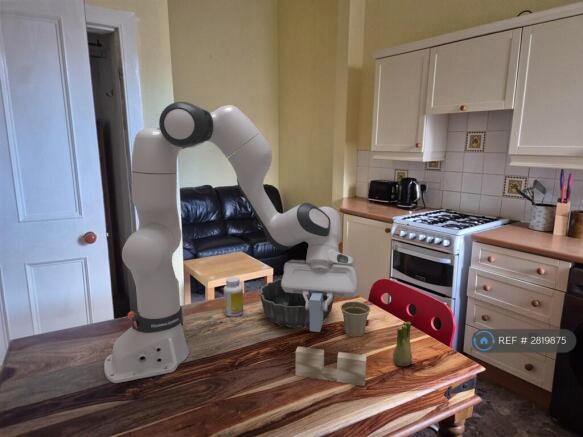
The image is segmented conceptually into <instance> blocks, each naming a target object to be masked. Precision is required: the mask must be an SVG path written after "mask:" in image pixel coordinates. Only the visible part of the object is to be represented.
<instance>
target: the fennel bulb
mask: <svg viewBox="0 0 583 437" xmlns="http://www.w3.org/2000/svg"><path fill="white" fill-rule="evenodd" d="M411 327H412V322H410V321H405V322H404V321H403V323H402V326H401V327H400V326H399V327H397V328H396V331H397V333H396V334H397V335H396V336H397V337H396V346H395V348H394V350H393V352H392V353H393V354H392V359H393V362H394V363H395V365H396V366H399V367H401V366H402V367H408V366H409V365H411V364H412V362H413V360H412V358H413V356H412V355H413V354H412V349H411V347H412V346H411V340H410V339H411V338H410V337H411V335H410V334H411Z"/></svg>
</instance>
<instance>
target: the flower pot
mask: <svg viewBox="0 0 583 437" xmlns="http://www.w3.org/2000/svg"><path fill="white" fill-rule="evenodd" d="M340 310H341V313H342V318H343V325H344V332H345V333H346V334H345V335H348V336H350V337H361V336H363V335H364V334H365V331H366V330H365V329H366V326H367V321H368V316H369V314H370V312H371V306H370V305H369V304H366V303H365V302H360V301H352V300H351V301H345V302H343V303H342V304H341V305H340Z"/></svg>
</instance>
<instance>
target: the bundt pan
mask: <svg viewBox="0 0 583 437" xmlns="http://www.w3.org/2000/svg"><path fill="white" fill-rule="evenodd" d="M281 282H282V278H278V279H276V280H273V281H271V282H267V283H266V285H263V286H262V287H261V288H260V290H259V294H258V296H259V297H260V300H261V304H262V309H263V312H264V314H265V315H266V316H267V317H268V319H269V320H270V321H271V322H272V323H276V324H277V325H278V326H280V327H285V326H286V327H288V328H289V329H290V328H292V329H296V328H298V327H300V328H302V329H305V328H306V327H307V326H309V327H310V311H309V310H306V308H305V306H306V301H305V298H304V296H303V294H302V293H289V292H285V291H284V290H283V289H282V287H281ZM311 295H312V294H310V295H309V298H307V299H308V301H309V299H310V297H311ZM334 298H335V296H333V300H332V301H331V303H330V304H329V305H328V309H327V311H323V322H325V321H326V320H327V319H328V316H329V315H330V314H331V312H332V310H333V303H334ZM327 299H328V298H327V295H323V303H325V301H326V300H327Z"/></svg>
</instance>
